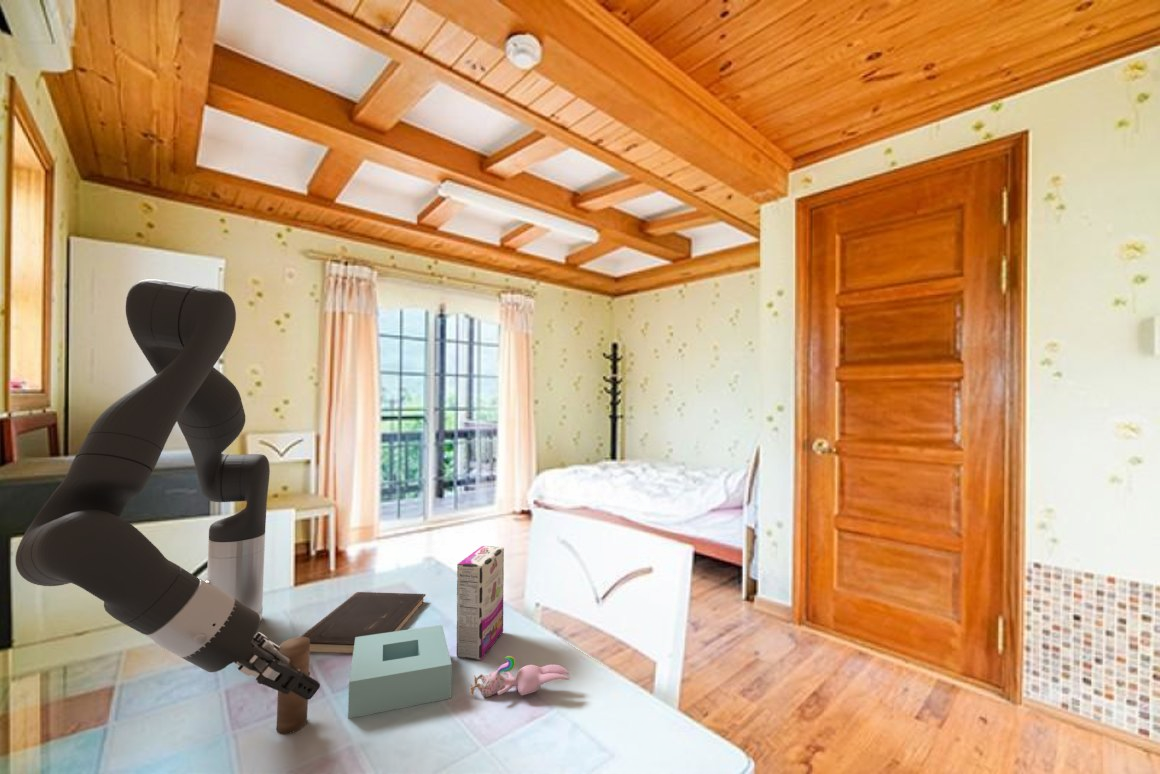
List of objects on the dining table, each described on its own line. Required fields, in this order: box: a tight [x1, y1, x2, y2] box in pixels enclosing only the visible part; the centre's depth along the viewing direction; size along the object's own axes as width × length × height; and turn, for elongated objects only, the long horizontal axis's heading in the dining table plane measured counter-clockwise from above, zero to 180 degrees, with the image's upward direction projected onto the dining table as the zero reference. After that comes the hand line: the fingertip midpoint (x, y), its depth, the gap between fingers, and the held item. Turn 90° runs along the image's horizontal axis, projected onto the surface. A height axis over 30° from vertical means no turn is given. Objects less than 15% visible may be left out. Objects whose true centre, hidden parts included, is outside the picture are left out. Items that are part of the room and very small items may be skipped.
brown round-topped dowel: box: [276, 636, 311, 735], centre depth 67 cm, size 4×4×11 cm
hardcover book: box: [300, 591, 427, 654], centre depth 98 cm, size 16×23×2 cm
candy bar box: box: [456, 545, 505, 661], centre depth 90 cm, size 11×5×16 cm, turn 168°
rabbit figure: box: [470, 655, 571, 698], centre depth 75 cm, size 6×6×15 cm
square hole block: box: [347, 624, 453, 719], centre depth 78 cm, size 14×14×5 cm
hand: (308, 685), depth 69 cm, fingers closed on brown round-topped dowel, 3 cm apart
